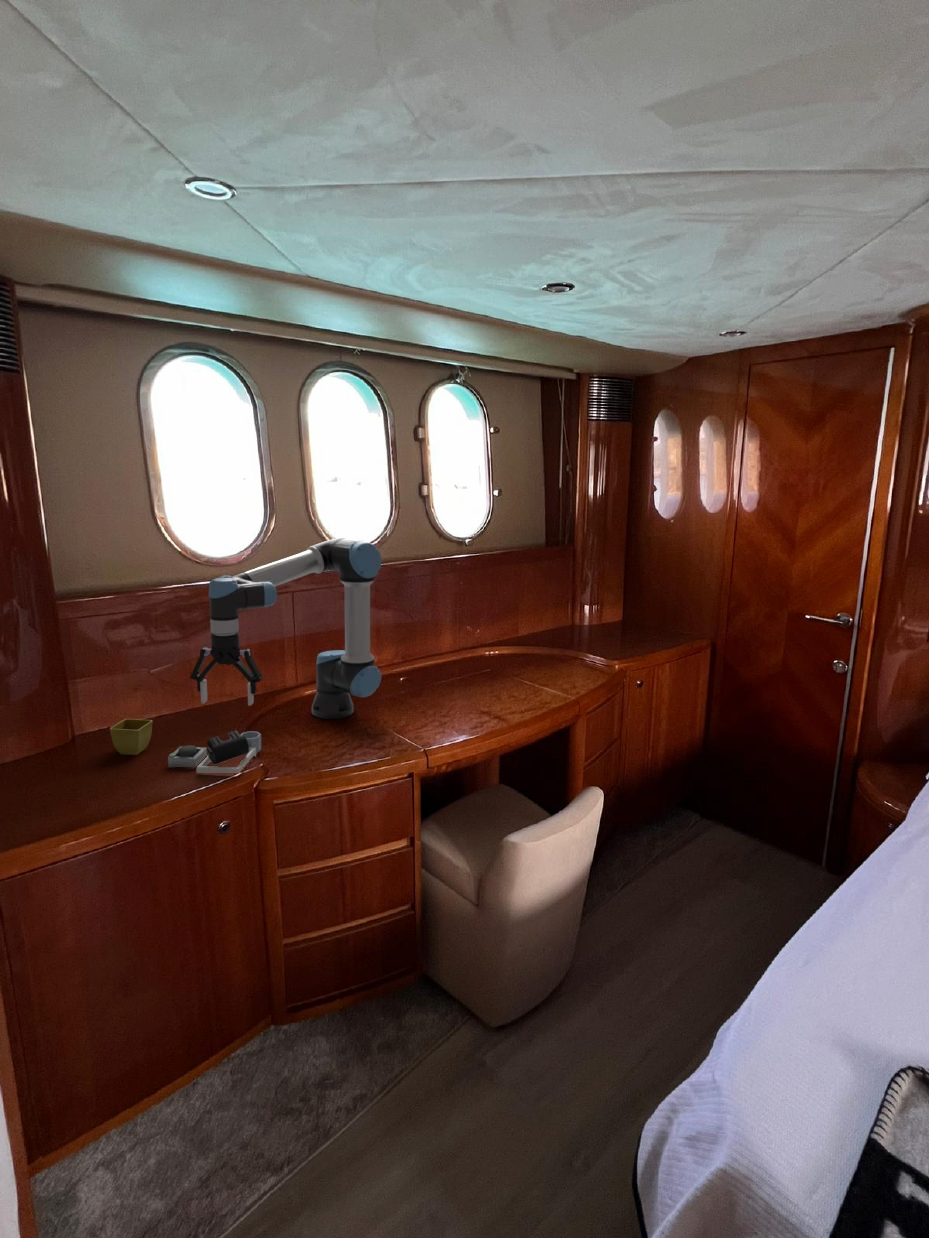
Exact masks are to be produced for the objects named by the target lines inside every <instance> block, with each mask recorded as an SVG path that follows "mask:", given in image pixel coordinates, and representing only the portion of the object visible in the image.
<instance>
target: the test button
mask: <svg viewBox="0 0 929 1238" xmlns="http://www.w3.org/2000/svg"><path fill="white" fill-rule="evenodd" d="M197 747H198V746H196V745H184V746H182V747H181V748H179V747H178V748H179V749H178V748H177V749H178V754H179V756H180V757H194V756H195V755H196V754H197Z"/></svg>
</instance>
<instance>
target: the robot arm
mask: <svg viewBox="0 0 929 1238" xmlns="http://www.w3.org/2000/svg"><path fill="white" fill-rule="evenodd" d="M381 568H382V555H381V552H380V551H379V549H378V547H376V545H374V544H373V543H371V542H367V541H364V540H359V539H350V538H343V537H342V538H341V537H338V538H333V539H329V540H325V541H323V542H319V543H316V544H313V545H311V546H309V547H307V548H306V549H305V551H302V552H300V553H297V554H294V555H291V556H288V557H285V558H282V559H280V560H276V561H273V562H271V563H267V564H265V565H261V566H258V567H256V568H254V569H250V570H246V571H245V572H242V573H238V574H235V575H229V574H228V575H227V574H225V575H221V576H219V577H217V578H213V579H211V580H210V581H209V584H208V585H209V586H208V599H209V615H210V616H209V617H210V619H209V622H210V633H211V634H210V640H211V641H210V642H211V644H210V646H211V648H208V647H207V646H204V647H203V648H201V649H200V651H199V656H198V659H197V661H196V664H195V665H194V667H193V669H192V672H191V674H190V675H189V679H190V680H194V681H196V684H197V685H196V686H197V687H196V688H197V692H198V693H199V692H200V702H201V703H200V704H202V705H203V704H206V702H208V686H207V685H208V683H207V679H206V678H205V677H206V676H207V675H208V674H209V673H210V672H211V670H213V668H214V667H215V666H216V665H217V664H219V665H221V666H223V665H227V666H230V665H233V666H234V667H235V668H236V669H238V671H239V672H240V673H241V674H242V676H243V677H244V678H245V679H246V680H247V681H248V683H247V687H246V688H247V706H249V707H250V706H252V705H253V704H254V703H255V702H254V701H255V699H254V695H255V694H256V693H257V690H258V689H257V683H260V682H261V681H262V680H263V678H264V677H263V674H262V673H261V671H260V669H259V667H258V666H257V664H256V662H255V660H254V658H253V656H252V650H251V649H250V648H247V649H241V648H240V633H239V631H240V630H239V629H240V628H239V611H245V610H252V609H253V610H254V609H261V608H262V609H265V608H266V607H267V608H268V607H271V606H272V607H273V606H274V605H275V604H276V602H277V599H278V596H277V595H278V593H277V591H278V590H277V589H276V587H277V586H280V585H283V584H286V583H288V582H291V581H294V580H296V579H299V578H302V577H305V576H308V575H311V574H313V573H315V574H322V573H324V572H336V573H337V572H338V573H339V582H341V584H343V585H344V649H343V650H341V649H340V650H339V649H338V650H337V649H335V650H327V651H323V652H320V653H318V654H317V657H316V663H315V665H316V669H315V670H316V692H315V693H316V694H315V696H314V698H313V702H312V705H311V715H313V716H314V717H316V718H319V719H324V720H325V719H326V720H338V719H344V718H347V717H349V716H352V715H353V714H354V703H353V700H352V697H351V695H352V696H354V697H359V698H367V697H369V696H371V695H373V694H374V693H375V692H376V690H377V689H378V688H379V686H380V683H381V680H382V672H381V670H380V669H379V667H377V666H376V665H375V656H374V654H372V653H371V585H372V584H373V583H375V577H376V576H377V575H378V574H379V571H380V570H381ZM209 655H211V656H212V658H213V659H211V661H210V662H209V664H208V665H207V666H206V667H205V668H204V669H203V670H202V667H203V665H204V663H205V661H206V659H207V656H209ZM240 656H242V658H244V659H245V662H246V664H247V666H248V667H247V666H246V665H245V663H243V661H242V659H241V658H240ZM201 670H202V672H201V673H200V671H201ZM199 673H200V674H199Z"/></svg>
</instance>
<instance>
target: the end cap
mask: <svg viewBox="0 0 929 1238" xmlns="http://www.w3.org/2000/svg"><path fill="white" fill-rule="evenodd" d="M226 734H227V736H228V737H229V738H228V739H227V740H222V739H221V738H220V737H219V736H215V737H212V738H209V739H208V740H207V743H206V745H207V746H208V747H206V748H207V756H208V757H209V758H210V760H211V762H212V763H213V764H214V765H216V764H219V763H222V762H225V761H227V760H230V759H233V758H236V757H239V756H242V755H245V754H247V753H248V752H249V745H248V741H247V739H246V737H245V736H242V737H241V734H240V733H239V732H238V730H233V731H230V732H227V733H226Z"/></svg>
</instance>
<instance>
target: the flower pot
mask: <svg viewBox="0 0 929 1238" xmlns="http://www.w3.org/2000/svg"><path fill="white" fill-rule="evenodd" d="M152 730H153V720H152V719H140V718H139V719H137V718H124V719H123V720H121V721H119V722H117V723H116V724H114V725H113V726H111V727H110V728H109V731H110V736H111V737H110V738H111V740H112V744H113V746H114V747H113V748H115V749H116V751H117V752H118V753H119V754H120V755H129V756H137V755H139V754H140V753H142V752H143V751H144V750H146V749H147V747H148V746H149V743H150V742H151V741H150V740H151V737H152Z"/></svg>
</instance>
